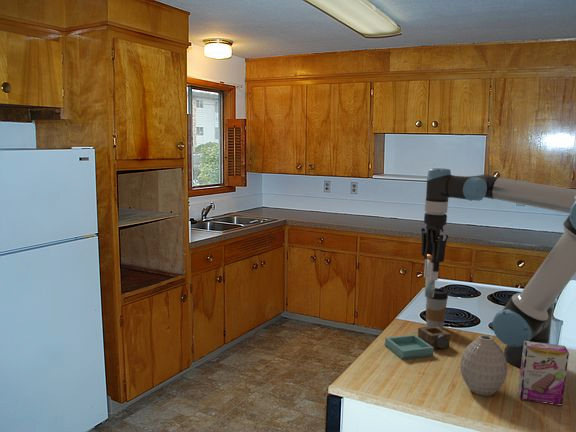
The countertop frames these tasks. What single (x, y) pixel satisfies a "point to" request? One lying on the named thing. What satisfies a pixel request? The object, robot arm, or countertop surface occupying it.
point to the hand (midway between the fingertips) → (430, 278)
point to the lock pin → (429, 284)
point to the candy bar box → (543, 372)
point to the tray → (409, 347)
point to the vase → (484, 366)
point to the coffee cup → (436, 308)
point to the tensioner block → (434, 336)
